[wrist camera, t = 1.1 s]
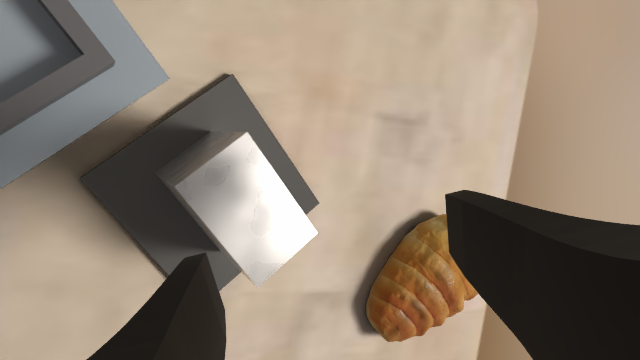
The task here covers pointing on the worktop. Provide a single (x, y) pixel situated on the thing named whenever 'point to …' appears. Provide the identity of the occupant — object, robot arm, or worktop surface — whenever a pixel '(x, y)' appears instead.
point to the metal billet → (238, 202)
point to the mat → (157, 200)
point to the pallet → (64, 75)
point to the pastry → (418, 284)
